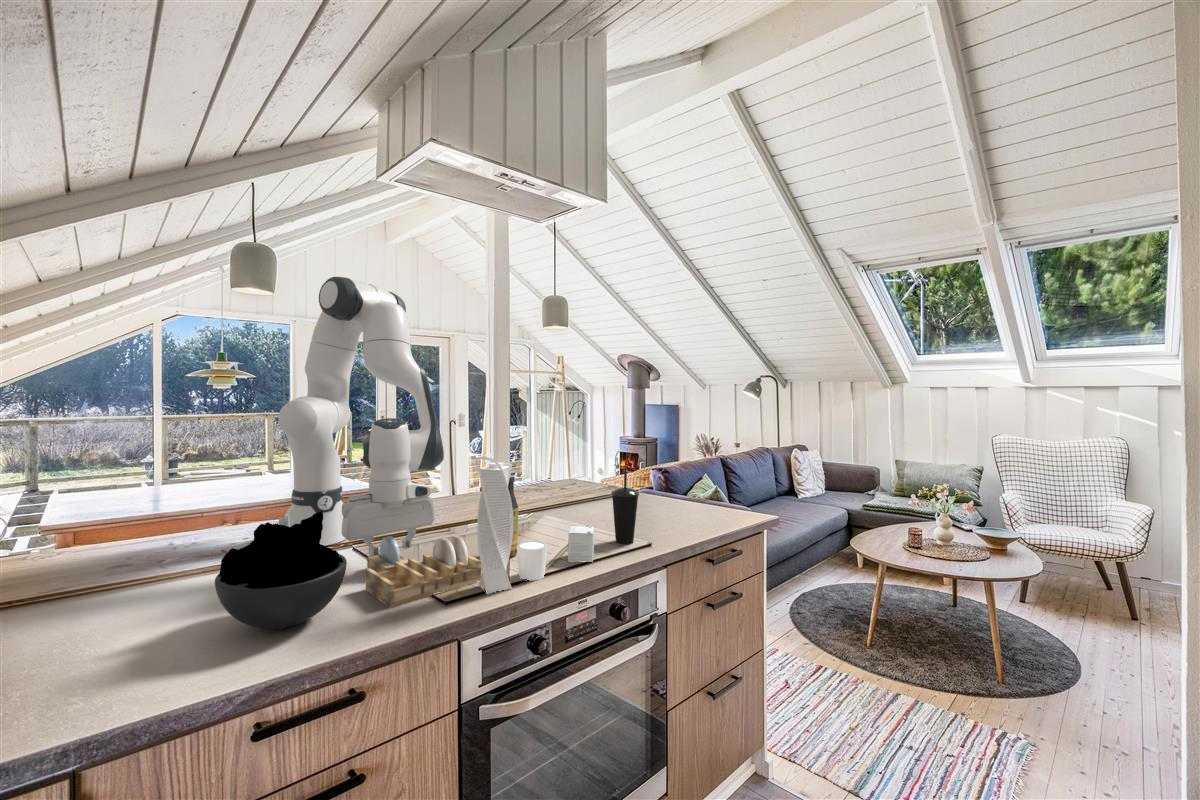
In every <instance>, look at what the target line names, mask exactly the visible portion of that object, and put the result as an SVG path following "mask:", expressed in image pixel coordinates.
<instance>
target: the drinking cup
mask: <svg viewBox="0 0 1200 800" xmlns="http://www.w3.org/2000/svg"><path fill="white" fill-rule="evenodd" d="M627 473H628V469H627V468H624V470H623V476H624V477H623V482H624V483H623V487H618V488H617V489H615V490H614V489H613V490H612V491H611V493H610V494H611V496H612V509H613V510H612V511H613V521H614V522H613V523H614V535H615V537H614V538H615V543H617V544H618V543H619V544H618V545H631V543H632V544H633V543H634V542H635V541H634V539H635V529H636V521H637V511H638V509H637V508H638V502H639V500H638V499H639V496H640V492H639V491H638V490H636V489H633V488H630V487H627V486H628V485H627V484H628V482H627V481H628V479H627V478H628V477H627V476H628V475H627Z"/></svg>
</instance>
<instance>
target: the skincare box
mask: <svg viewBox="0 0 1200 800" xmlns="http://www.w3.org/2000/svg"><path fill="white" fill-rule="evenodd" d="M567 543H568V544H567V562H568V563H574V562H580V561H581V562H582V561H588V562H592V563H593V561H594V554H595V526H580V525H579V526H576V525H573V526H572V525H571V526H570V528H569V530H568V540H567Z"/></svg>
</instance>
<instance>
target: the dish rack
mask: <svg viewBox="0 0 1200 800" xmlns="http://www.w3.org/2000/svg"><path fill="white" fill-rule="evenodd" d="M407 560H408V565H407V566H406V565H405V564H403V563H401V562H399V561H396V562H395V569H391V570H387V571H383V572H379V573H377V572H375V571H374V570H372V569H371V568H367V567H366V568H365V591H366V592H367V593H369V594H370V595H372V596H373V597H374V598H376V599H377V600H379V601H380V602H381V603H383V604H384V605H385V606H387V607H388V608H389V609H392V608H395V607H400V606H402V605H406V604H409V603H413V602H416V601H418V600H421V599H426V598H429V597H432V594H434V593H437V592H443V591H446V592H448V591H447V590H450V589H453V590H455V589H454V588H456V589H459V588H458V587H460V588H462V587H461V586H463V587H466V586H465V585H467V586H469V585H468V584H470V585H472V583H473V584H475V583H474V582H477V581H480V579H481V575H482V568H481V562H480V559H478V558H476V557H474V556H472V555H470V554H469V552H468V548H467V545H466V543H465V541H464V539H463V538H462V537H461V536H460V535H454V536H450V537H448V538H444V537H443V538H440V539H437V540H436V541H435V542H434V545H433V548H432V556H431V555H429V554H427V553H425V554H422V561H419V560H416V559H414V558H413V557H408V558H407ZM477 583H478V582H477ZM450 591H451V590H450ZM443 593H444V592H443Z"/></svg>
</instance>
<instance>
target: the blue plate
mask: <svg viewBox="0 0 1200 800" xmlns="http://www.w3.org/2000/svg"><path fill="white" fill-rule="evenodd" d="M400 551H401V550H400V546H399V543H398V541H397V539H396V538H395V537H394V536H392V535H390V536H385V537H383V538H382V539H381V542H380V546H379V554H380V557H381V558H382V559H384V560H386V561H387V562H389V563H391V564H392V565H395V562H396V561H399V562H400V556H401V552H400Z"/></svg>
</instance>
